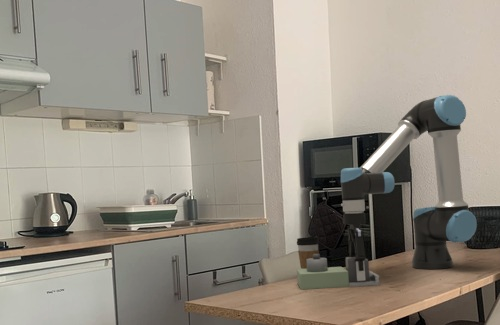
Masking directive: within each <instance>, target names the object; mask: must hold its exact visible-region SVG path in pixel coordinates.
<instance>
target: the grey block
mask: <svg viewBox="0 0 500 325" xmlns="http://www.w3.org/2000/svg"><path fill="white" fill-rule="evenodd" d="M355 259H356V257H350V256H347V257H345V270H347V271H348V278H349V283H352V282H368V281H370V277H369V271H370V265H369V259H368V258H366V259H365V260H364V265H365V280H363V281H357V272H356V261H354V260H355Z"/></svg>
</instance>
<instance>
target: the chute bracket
mask: <svg viewBox="0 0 500 325" xmlns="http://www.w3.org/2000/svg"><path fill="white" fill-rule="evenodd" d="M369 277H370V281H368V282H352V283H349V287H351V288H352V287H353V288H356V287H369V286H380V284H381V283H380V282H381V281H380V275H379V274H377V273H375V272H373V271H372V270H369Z"/></svg>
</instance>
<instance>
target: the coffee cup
mask: <svg viewBox="0 0 500 325" xmlns="http://www.w3.org/2000/svg"><path fill="white" fill-rule="evenodd" d="M319 244H320V242H319V236H309V237H298V238H297V239H296V245H297V249H298V251H297V253H298V259H299V265H300V269H307V261H306V259H309V258H313V254H319Z"/></svg>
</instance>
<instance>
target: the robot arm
mask: <svg viewBox="0 0 500 325" xmlns="http://www.w3.org/2000/svg"><path fill="white" fill-rule="evenodd" d="M466 116H467V109H466V107H465V104H464V102H463V101H462V100H461V99H460V98H459V97H457V96H455V95H452V94H445V95H444V94H443V95H438V96H437V97H433V98H429V99H425V100H421V101H420V102H418V103H417V104H416V105H414V106H413V107H412V108H411V109H410V110H409V111H408V112H407V113H406V114H405V115H404V116H403V117H402V118H401V119H400V120H399V121H398V122H397V123H398V124H397V127H396V128H395V130H393V131H392V133H390V135H389V136H388V137H387V138H386V139H385V140H384V141H383V142H382V143H381V145H380V146H378V147H377V149H376V150H375V151H374V152H373V153H372V154H371V155H370V156H369V157H368V159H367V160H366V161H365V162H364V163H363V164H362V165H361V166H360V167H347V168H345V167H344V168H342V169H341V170H340V185H341V187H340V188H341V199H342V203H341V204H340V207H342V212H343V214H342V215H343V217H342V218H343V224H344V225H348V226H349V227H348V228H347V232H348V234H347V235H348V256H349V257H356V259H355V260H354V261H356V272H357V281H363V280H365V265H364V260H365V259H367V258H366V251H365V250H366V249H365V240H364V230H363V229H362V228H361V224H362V225H363V224H366V222H367V221H366V213H365V212H364V211H366V205H365V203H366V202H365V195H375V194H376V195H377V194H389V193H391V192H393V190H394V189H395V186H396V185H395V177H394V175H393V174H392V173H391V172H388V171H386V169H387V168H388V167H389V166H390V165H391V164H392V163H393V162H394V161H395V160H396V159H397V157H398V156H399V155H400V154H401V153H402V152H403V151H404V150H405V148H407V146H408V145H409V144H410V143H412V141H413V140H417V139H418V138H419V137H420V136H421V135H422V134H424V133H426V132H427V134H428V136H430V137H431V138H432V142H433V143H432V144H433V155H434V165H435V177H436V186H437V196H438V197H437V198H438V199H437V200H438V201H437V203H436V204H435V205H434V206H429V207H428V206H427V207H421V208H417V209H414V211H413V212H412V213H413V215H412V216H413V218H412V220H413V230H414V242H415V249H414V251H413V252H414V253H413V256H412V260H411V263H412V264H411V265H412V266H411V267H412V268H414V269H421V270H442V269H448V268H449V269H450V268H452V267H454V263H453V262H454V261H453V258H452V256H451V254H450V252H449V248H448V246H447V242H452V243H465V242H468V241H469V240H471V239H472V237H473V236H474V234H475V233H476V231H477V226H478V224H477V223H478V222H477V219H476V216H475V215H474V214H473V212H472V211H470V210H469V204H468V202H466V201H464V196H463V187H462V186H463V185H462V184H463V183H462V173H461V164H460V156H459V155H460V152H459V142H458V135H459V133H460V132H462V128H461V124H462V123H464V122H465V119H466Z"/></svg>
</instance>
